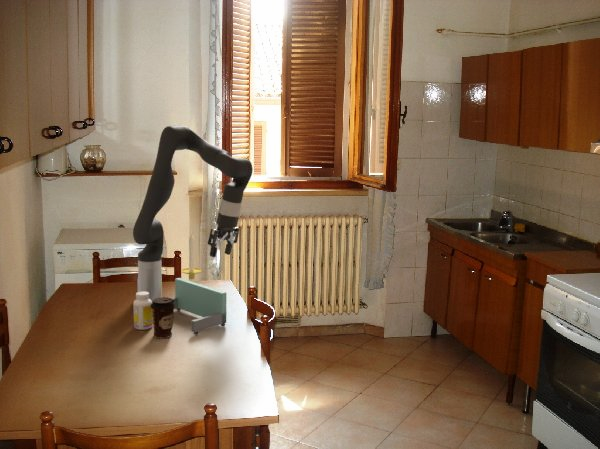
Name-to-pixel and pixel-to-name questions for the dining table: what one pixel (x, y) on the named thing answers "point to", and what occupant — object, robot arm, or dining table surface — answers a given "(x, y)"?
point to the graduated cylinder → (191, 261)
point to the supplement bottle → (142, 311)
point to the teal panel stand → (200, 304)
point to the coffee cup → (162, 316)
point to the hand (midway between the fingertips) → (219, 255)
